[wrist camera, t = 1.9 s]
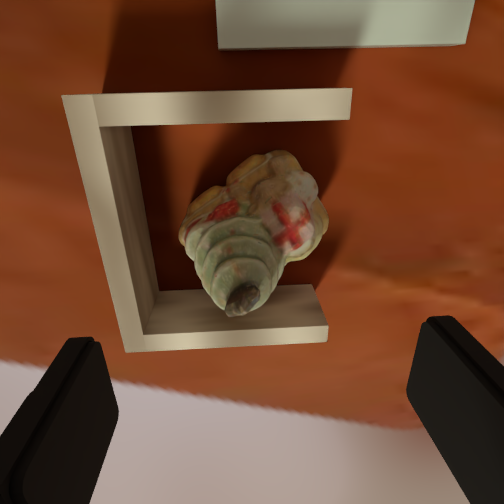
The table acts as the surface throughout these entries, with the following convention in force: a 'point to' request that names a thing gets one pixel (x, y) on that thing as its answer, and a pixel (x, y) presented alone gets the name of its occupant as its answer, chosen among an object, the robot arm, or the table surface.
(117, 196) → the shelf bay
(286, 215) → the ornament
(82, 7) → the table surface
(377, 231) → the table surface
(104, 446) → the robot arm
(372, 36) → the tile mat
